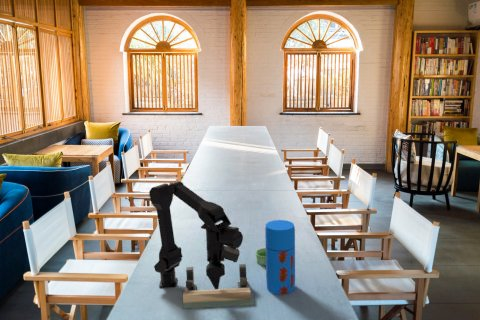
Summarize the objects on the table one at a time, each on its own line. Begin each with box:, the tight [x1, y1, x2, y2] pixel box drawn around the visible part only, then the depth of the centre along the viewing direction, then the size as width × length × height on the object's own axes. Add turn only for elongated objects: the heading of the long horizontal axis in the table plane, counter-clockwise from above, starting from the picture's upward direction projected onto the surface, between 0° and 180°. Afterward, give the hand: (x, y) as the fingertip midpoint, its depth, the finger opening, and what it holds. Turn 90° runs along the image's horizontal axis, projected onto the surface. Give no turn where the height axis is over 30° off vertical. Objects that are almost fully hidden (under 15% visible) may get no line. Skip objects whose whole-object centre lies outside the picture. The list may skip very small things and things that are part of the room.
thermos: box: [264, 219, 296, 295], centre depth 168 cm, size 11×11×25 cm
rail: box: [182, 287, 251, 303], centre depth 162 cm, size 3×24×3 cm, turn 93°
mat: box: [182, 290, 255, 310], centre depth 163 cm, size 8×25×1 cm, turn 93°
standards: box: [184, 263, 250, 291], centre depth 170 cm, size 7×24×8 cm, turn 93°
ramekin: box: [255, 247, 266, 267], centre depth 192 cm, size 9×9×4 cm
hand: (216, 282), depth 161 cm, fingers open, 9 cm apart
